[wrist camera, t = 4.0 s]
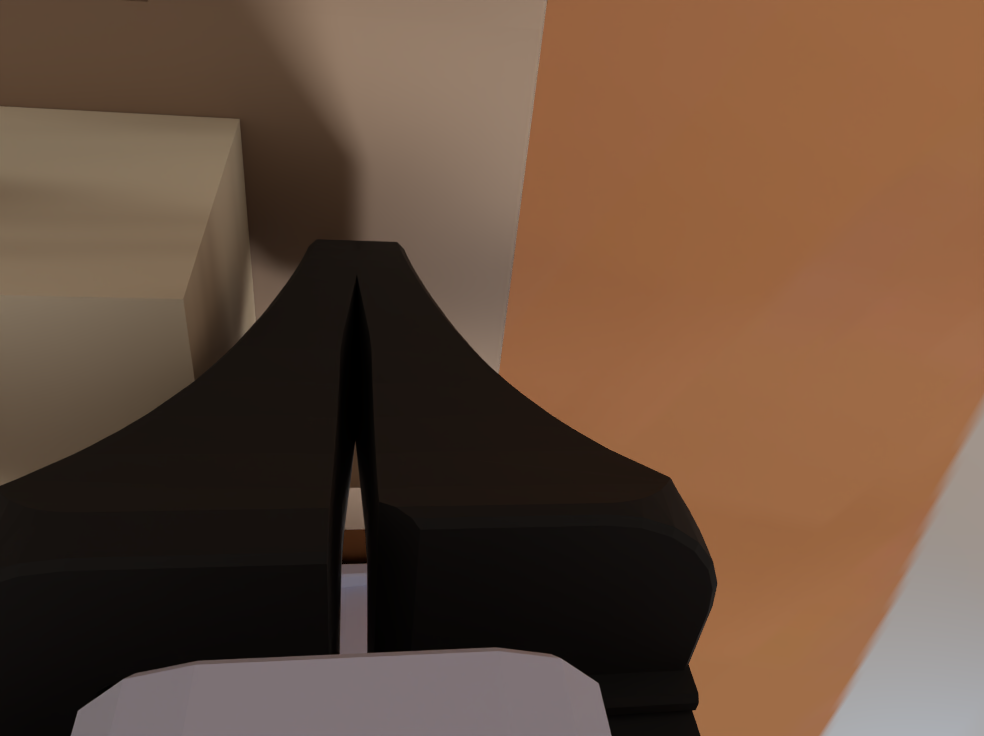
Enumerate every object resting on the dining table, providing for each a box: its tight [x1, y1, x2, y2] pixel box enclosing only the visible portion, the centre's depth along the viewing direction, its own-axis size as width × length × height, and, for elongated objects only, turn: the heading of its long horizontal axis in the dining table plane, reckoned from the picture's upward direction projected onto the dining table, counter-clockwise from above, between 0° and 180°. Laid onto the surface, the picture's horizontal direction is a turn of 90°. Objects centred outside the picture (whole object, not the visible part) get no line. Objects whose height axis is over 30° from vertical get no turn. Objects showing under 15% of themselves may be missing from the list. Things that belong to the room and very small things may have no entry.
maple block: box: [0, 106, 256, 485], centre depth 11 cm, size 4×4×4 cm
